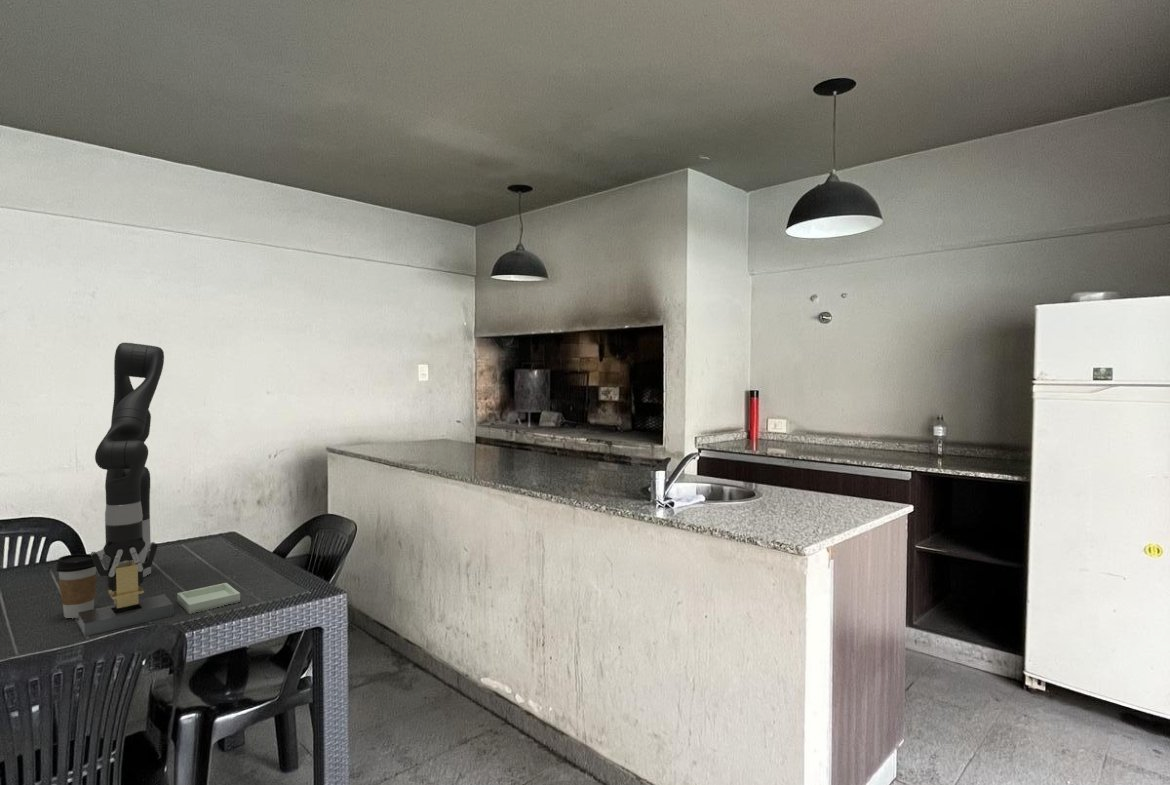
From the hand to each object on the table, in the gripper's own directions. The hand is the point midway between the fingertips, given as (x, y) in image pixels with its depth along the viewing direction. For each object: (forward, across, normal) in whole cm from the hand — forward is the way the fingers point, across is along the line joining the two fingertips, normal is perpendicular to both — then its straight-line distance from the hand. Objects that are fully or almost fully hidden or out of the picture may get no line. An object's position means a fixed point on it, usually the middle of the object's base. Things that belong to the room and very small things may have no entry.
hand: (125, 587), depth 159 cm
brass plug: (+4, 0, 0) cm, 4 cm away
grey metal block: (+8, 0, 0) cm, 8 cm away
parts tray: (+8, -18, +1) cm, 20 cm away
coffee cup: (+8, +8, -13) cm, 17 cm away
